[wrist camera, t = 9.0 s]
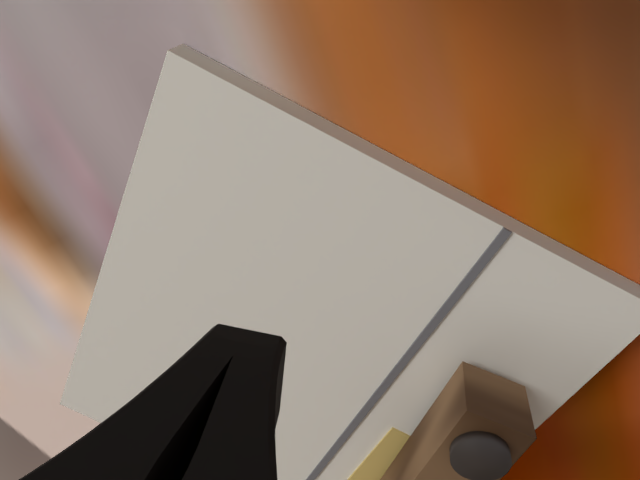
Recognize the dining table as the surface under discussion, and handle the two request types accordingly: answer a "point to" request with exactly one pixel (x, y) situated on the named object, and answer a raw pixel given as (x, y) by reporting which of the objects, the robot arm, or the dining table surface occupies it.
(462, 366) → the bar
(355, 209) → the latch board
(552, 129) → the dining table surface
